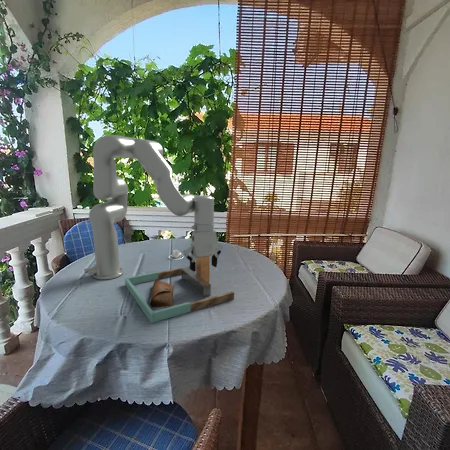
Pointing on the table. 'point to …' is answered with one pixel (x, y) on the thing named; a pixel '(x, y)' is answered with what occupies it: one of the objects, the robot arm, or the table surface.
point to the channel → (199, 303)
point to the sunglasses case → (161, 294)
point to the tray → (147, 310)
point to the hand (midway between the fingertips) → (203, 268)
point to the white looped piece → (176, 254)
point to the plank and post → (199, 276)
